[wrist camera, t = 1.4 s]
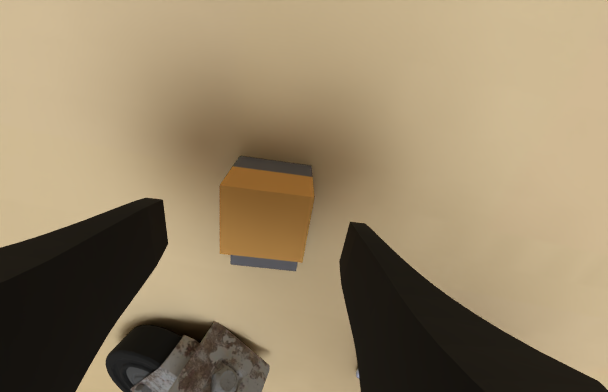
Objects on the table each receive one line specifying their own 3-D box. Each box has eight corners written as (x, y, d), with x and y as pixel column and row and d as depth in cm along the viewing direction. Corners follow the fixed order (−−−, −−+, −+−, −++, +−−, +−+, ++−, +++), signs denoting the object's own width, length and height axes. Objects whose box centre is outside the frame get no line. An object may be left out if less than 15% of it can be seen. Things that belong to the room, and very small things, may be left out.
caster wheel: (136, 325, 26) (178, 282, 22) (218, 391, 28) (274, 364, 23) (67, 396, 20) (104, 358, 16) (175, 476, 22) (239, 463, 17)
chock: (311, 164, 16) (314, 197, 12) (296, 252, 19) (295, 301, 15) (240, 155, 16) (219, 185, 12) (237, 245, 19) (219, 294, 15)
